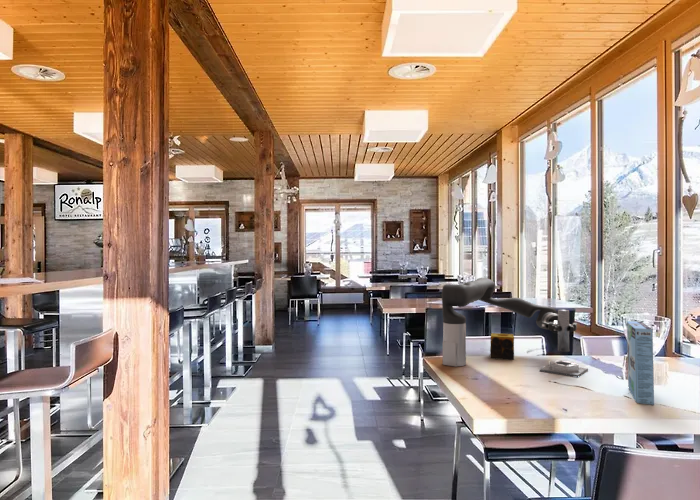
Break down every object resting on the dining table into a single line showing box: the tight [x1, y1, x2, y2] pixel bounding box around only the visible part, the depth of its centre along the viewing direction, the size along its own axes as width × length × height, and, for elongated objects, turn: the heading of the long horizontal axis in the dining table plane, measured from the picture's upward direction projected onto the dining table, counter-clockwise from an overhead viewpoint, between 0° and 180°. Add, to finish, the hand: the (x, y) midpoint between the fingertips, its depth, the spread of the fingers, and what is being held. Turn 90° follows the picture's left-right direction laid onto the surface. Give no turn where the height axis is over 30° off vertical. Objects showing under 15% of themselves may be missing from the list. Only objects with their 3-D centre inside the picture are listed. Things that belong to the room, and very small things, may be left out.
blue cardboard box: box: [626, 320, 655, 406], centre depth 152 cm, size 20×5×23 cm, turn 156°
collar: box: [538, 360, 589, 378], centre depth 185 cm, size 14×14×3 cm
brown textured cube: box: [489, 332, 515, 361], centre depth 211 cm, size 10×10×10 cm
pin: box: [557, 309, 570, 353], centre depth 185 cm, size 4×4×16 cm
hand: (565, 329), depth 183 cm, fingers closed on pin, 4 cm apart
